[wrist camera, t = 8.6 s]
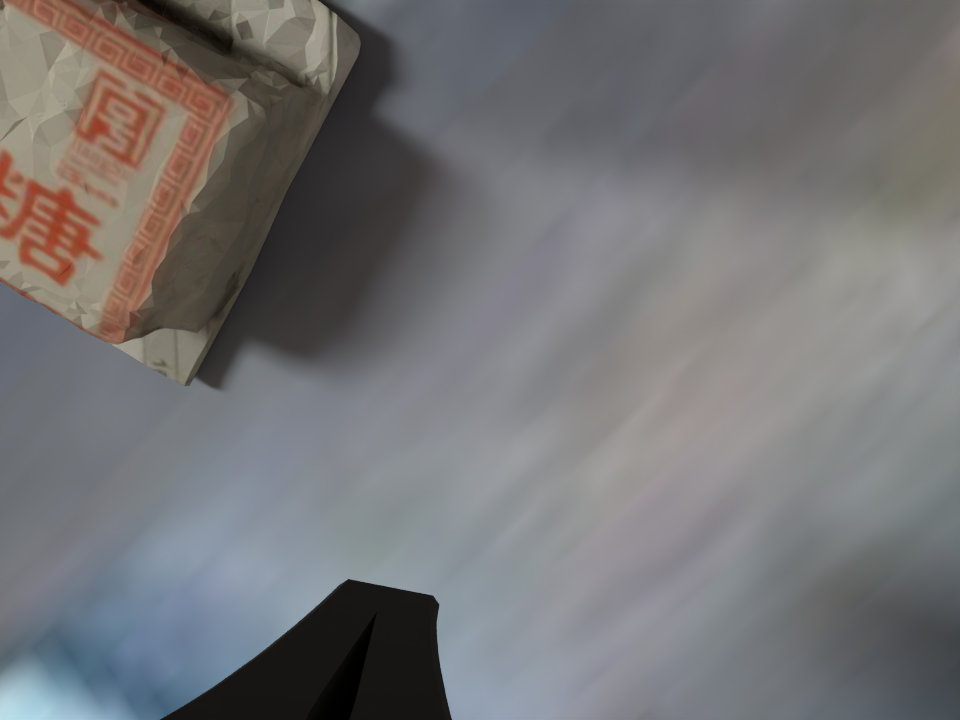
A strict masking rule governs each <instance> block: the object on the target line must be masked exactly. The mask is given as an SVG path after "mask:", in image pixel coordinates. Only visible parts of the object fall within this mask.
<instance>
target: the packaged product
mask: <svg viewBox="0 0 960 720" xmlns="http://www.w3.org/2000/svg"><path fill="white" fill-rule="evenodd" d="M360 46H361V42H360V38H359V35H358V34H357V33H356V32H355V31H354V30H353V29H352V28H351V27H350V26H348V25H347V24H346V23H345V22H344V21H343V20H342V19H341V18H340V17H339V16H338V15H336V14H335V13H334V12H332V11H331V10H330V9H329V8H327V7H326V6H325V5H323V4H322V3H321V2H319V1H318V0H0V281H1V282H2V283H4V284H6V285H7V286H9V287H10V288H12V289H13V290H15V291H16V292H18V293H19V294H20V295H22V296H24V297H26V298H28V299H31V300H33V301H35V302H37V303H40V304H42V305H43V306H45V307H46V308H48V309H49V310H50V311H52V312H53V313H55V314H58V315H60V316H62V317H64V318H65V319H67V320H68V321H70V322H71V323H73V324H74V325H76V326H77V327H79V328H80V329H82V330H83V331H85V332H87V333H89V334H91V335H93V336H95V337H97V338H99V339H101V340H103V341H105V342H107V343H109V344H111V345H113V346H115V347H117V348H118V349H120V350H122V351H124V352H125V353H127V354H129V355H130V356H132V357H134V358H135V359H137V360H138V361H140V362H142V363H143V364H145V365H147V366H148V367H150V368H152V369H154V370H156V371H157V372H159V373H161V374H163V375H165V376H166V377H168V378H170V379H172V380H174V381H176V382H178V383H180V384H181V385H183V386H189V385H190V383H191V382H192V380H193V378H194V376H195V374H196V372H197V371H198V369H199V367H200V365H201V363H202V361H203V360H204V358H205V356H206V354H207V352H208V350H209V348H210V347H211V345H212V343H213V341H214V339H215V337H216V336H217V334H218V332H219V330H220V328H221V326H222V325H223V323H224V321H225V319H226V317H227V315H228V313H229V312H230V310H231V308H232V306H233V304H234V302H235V301H236V299H237V297H238V295H239V293H240V291H241V290H242V288H243V286H244V284H245V282H246V280H247V278H248V277H249V275H250V273H251V271H252V269H253V266H254V264H255V262H256V260H257V257H258V255H259V253H260V251H261V248H262V246H263V244H264V242H265V240H266V237H267V235H268V233H269V231H270V228H271V226H272V224H273V222H274V219H275V217H276V215H277V212H278V210H279V208H280V205H281V203H282V201H283V199H284V196H285V194H286V192H287V190H288V188H289V186H290V184H291V183H292V181H293V179H294V177H295V175H296V174H297V172H298V170H299V168H300V166H301V164H302V163H303V161H304V159H305V157H306V155H307V153H308V151H309V149H310V148H311V146H312V144H313V142H314V140H315V138H316V136H317V134H318V132H319V130H320V128H321V126H322V124H323V122H324V121H325V119H326V117H327V115H328V113H329V111H330V109H331V107H332V105H333V103H334V101H335V99H336V97H337V95H338V94H339V92H340V90H341V88H342V86H343V84H344V82H345V80H346V78H347V76H348V74H349V72H350V70H351V68H352V67H353V65H354V63H355V61H356V59H357V57H358V55H359V51H360Z"/></svg>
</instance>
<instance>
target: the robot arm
mask: <svg viewBox="0 0 960 720" xmlns="http://www.w3.org/2000/svg"><path fill="white" fill-rule="evenodd" d="M438 610H439V603H438V602H437V601H436V599H435V598H434V596H432V595H427V594H422V593H416V592H411V591H406V590H401V589H396V588H391V587H386V586H381V585H375V584H370V583H365V582H360V581H355V580H350V579H348V580H347V581H345V582H343V583H342V584H340V585H339V586H338V587H337V588H336V589H335V590H334V591H333V592H332V593H331V594H329V595H328V596H327V597H326V598H325V599H324V600H323V601H322V602H321V603H320V604H319V605H318V606H316V607H315V608H314V609H313V610H312V611H311V612H310V613H309V614H307V615H306V616H305V617H304V618H303V619H302V620H301V621H299V622H298V623H297V624H296V625H295V626H294V627H292V628H291V629H290V630H289V631H287V632H286V633H285V634H284V635H282V636H281V637H280V638H279V639H277V640H276V641H275V642H274V643H273V644H271V645H270V646H269V647H268V648H266V649H265V650H264V651H263V652H261V653H260V654H259V655H257V656H256V657H255V658H253V659H252V660H251V661H249V662H248V663H246V664H245V665H244V666H242V667H241V668H239V669H238V670H237V671H235V672H234V673H232V674H231V675H230V676H228V677H227V678H225V679H224V680H223V681H221V682H220V683H218V684H217V685H216V686H214V687H213V688H211V689H210V690H208V691H206V692H205V693H203V694H202V695H200V696H199V697H197V698H196V699H194V700H192V701H191V702H189V703H188V704H186V705H184V706H183V707H181V708H179V709H178V710H176V711H174V712H172V713H171V714H169V715H167V716H166V717H164V718H162V719H160V720H452V718H451V715H450V711H449V707H448V703H447V698H446V694H445V688H444V683H443V678H442V673H441V668H440V662H439V655H438V644H437V628H436V627H437V616H438Z"/></svg>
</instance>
